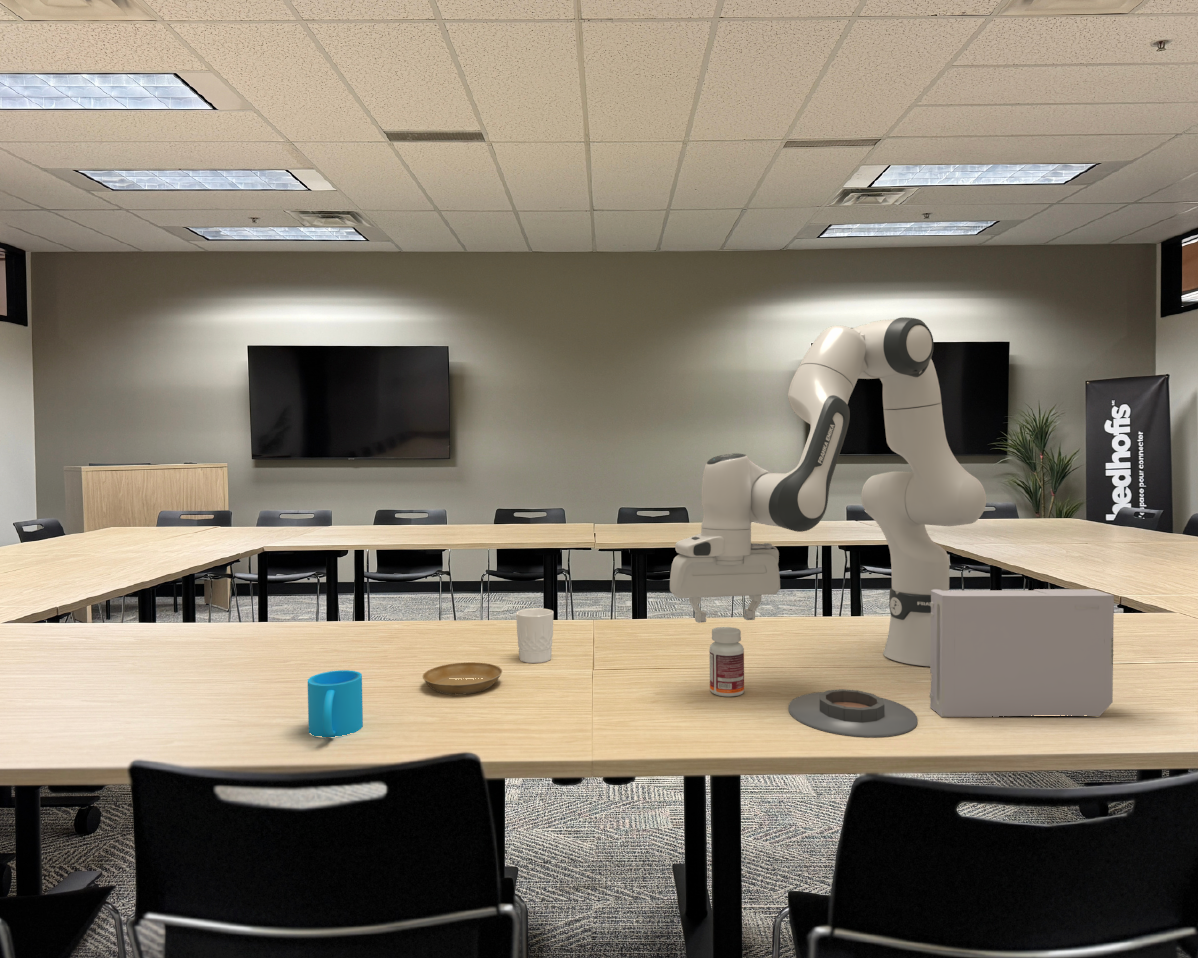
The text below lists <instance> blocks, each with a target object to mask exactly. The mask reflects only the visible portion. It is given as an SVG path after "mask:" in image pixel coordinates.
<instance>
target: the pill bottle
mask: <svg viewBox="0 0 1198 958" xmlns="http://www.w3.org/2000/svg"><path fill="white" fill-rule="evenodd" d="M741 633H742V632H741V629H740V628H737V627H731V626H717V627H714V628H712V629H711V641H713V642H712V643H711V644H710V645H709V690H710V692H711V693H712V694H714V695H716V696H719V697H724V698H725V697H736V696H737V697H738V696H741V695H743V694H744V692H745V648H744V646H743V644H742V643H740V642H741V640H742V634H741Z"/></svg>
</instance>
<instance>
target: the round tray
mask: <svg viewBox="0 0 1198 958" xmlns="http://www.w3.org/2000/svg"><path fill="white" fill-rule="evenodd" d="M788 713H789V714H790V716H791V717H792V718H793V719H794V720H795V721H797V722H799V723H801V724H802V725H805V726H806V727H809V728H812V729H815V730H818V731H822V732H825V733H829V734H835V735H841V736H846V737H856V738H858V737H859V738H886V737H888V738H889V737H896V736H899V735H903V734H907V733H909V732H911V731H913V730H914V729H916V727H917V725H918V716H917V715H916V713H915V712H914V711H913V710H912V709H910V708H909V707H907V706H906V705H903V704H901V703H899V702H896V701H894V700H891V699H887V698H884V697H880V696H878V695H876V694H874V693H871V692H866V691H862V690H857V689H856V690H855V689H843V688H841V689H840V688H839V689H829V690H825V691H821V692H819V691H818V692H813V693H806V694H803V695H799V696H796V697H795V698H793V699H792V700H790V702H789V703H788Z"/></svg>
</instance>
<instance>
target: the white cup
mask: <svg viewBox="0 0 1198 958" xmlns="http://www.w3.org/2000/svg"><path fill="white" fill-rule="evenodd" d="M515 615H516V619H515V620H516V634H517V635H516V636H517V645H518V658H519V660H520V662H523V663H528V664H541V663H546V662H548V661H550V660H551V659H552V655H553V654H552V651H553V650H552V649H553V648H552V647H553V638H554V637H553V636H554V610H552V609H548V608H541V607H540V608H538V607H537V608H535V607H534V608H533V607H532V608H524V609H521V610H517V612H515Z"/></svg>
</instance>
